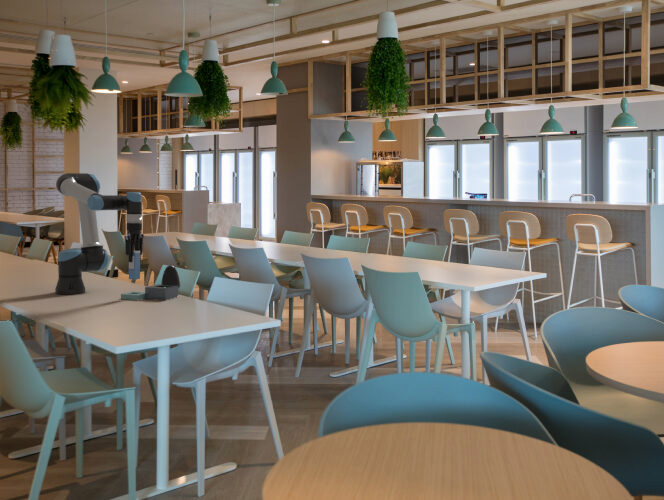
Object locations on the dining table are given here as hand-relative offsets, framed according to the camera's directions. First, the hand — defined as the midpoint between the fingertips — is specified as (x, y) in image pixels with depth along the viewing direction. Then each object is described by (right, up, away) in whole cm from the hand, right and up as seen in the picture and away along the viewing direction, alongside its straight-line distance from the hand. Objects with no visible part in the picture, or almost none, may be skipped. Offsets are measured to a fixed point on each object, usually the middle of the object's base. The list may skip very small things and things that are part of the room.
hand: (134, 267), depth 354 cm
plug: (0, -6, +1) cm, 6 cm away
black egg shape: (+14, -14, +18) cm, 27 cm away
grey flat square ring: (0, -16, +1) cm, 16 cm away
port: (+13, -16, +3) cm, 21 cm away
